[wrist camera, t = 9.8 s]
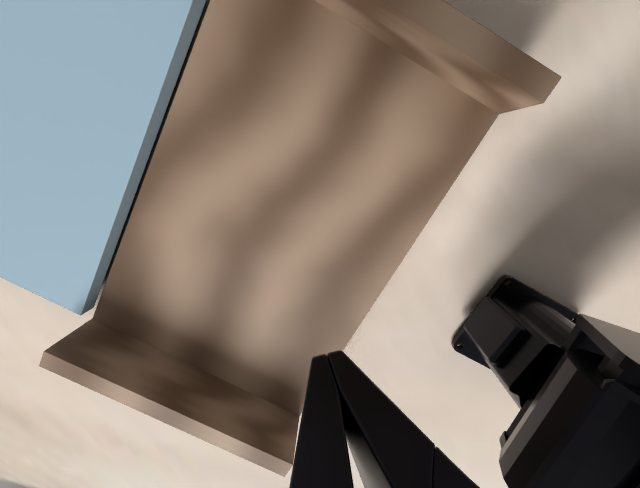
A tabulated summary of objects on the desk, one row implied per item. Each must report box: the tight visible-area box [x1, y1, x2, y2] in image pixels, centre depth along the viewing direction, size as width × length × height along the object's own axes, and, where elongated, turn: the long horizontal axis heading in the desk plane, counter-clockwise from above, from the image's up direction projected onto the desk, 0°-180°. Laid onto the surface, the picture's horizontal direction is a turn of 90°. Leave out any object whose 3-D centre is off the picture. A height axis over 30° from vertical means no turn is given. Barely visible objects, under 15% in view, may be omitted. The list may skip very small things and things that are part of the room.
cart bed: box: [39, 0, 561, 477], centre depth 19 cm, size 17×27×5 cm, turn 151°
